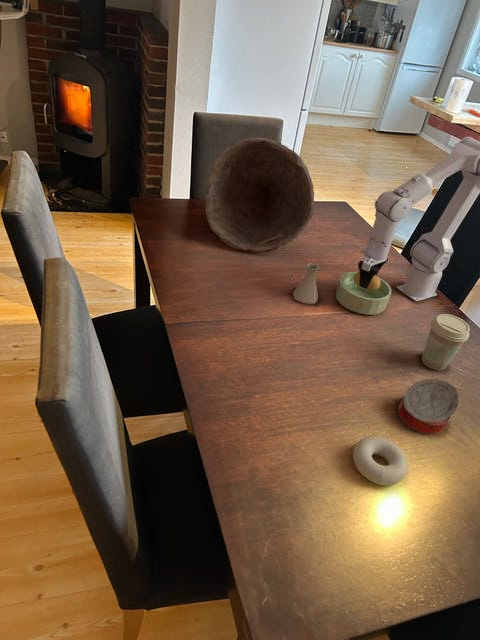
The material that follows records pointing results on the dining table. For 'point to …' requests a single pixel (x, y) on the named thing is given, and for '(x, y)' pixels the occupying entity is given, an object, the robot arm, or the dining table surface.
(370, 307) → the celadon bowl
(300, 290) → the flask
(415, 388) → the canned food
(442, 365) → the coffee cup
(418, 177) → the robot arm
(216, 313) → the dining table surface
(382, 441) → the donut
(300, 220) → the bowl
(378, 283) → the potato
